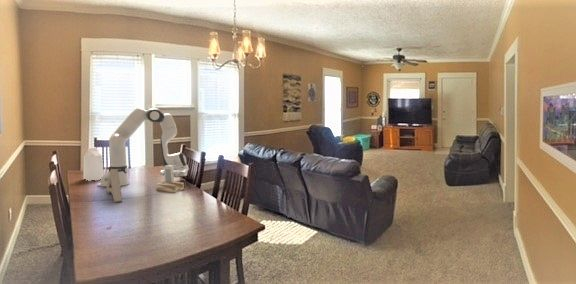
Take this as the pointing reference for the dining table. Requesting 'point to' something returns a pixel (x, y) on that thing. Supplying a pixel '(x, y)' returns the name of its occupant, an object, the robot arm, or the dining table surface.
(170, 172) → the white grey box
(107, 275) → the dining table surface
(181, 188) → the stand
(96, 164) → the milk
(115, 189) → the wall bracket
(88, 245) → the dining table surface
